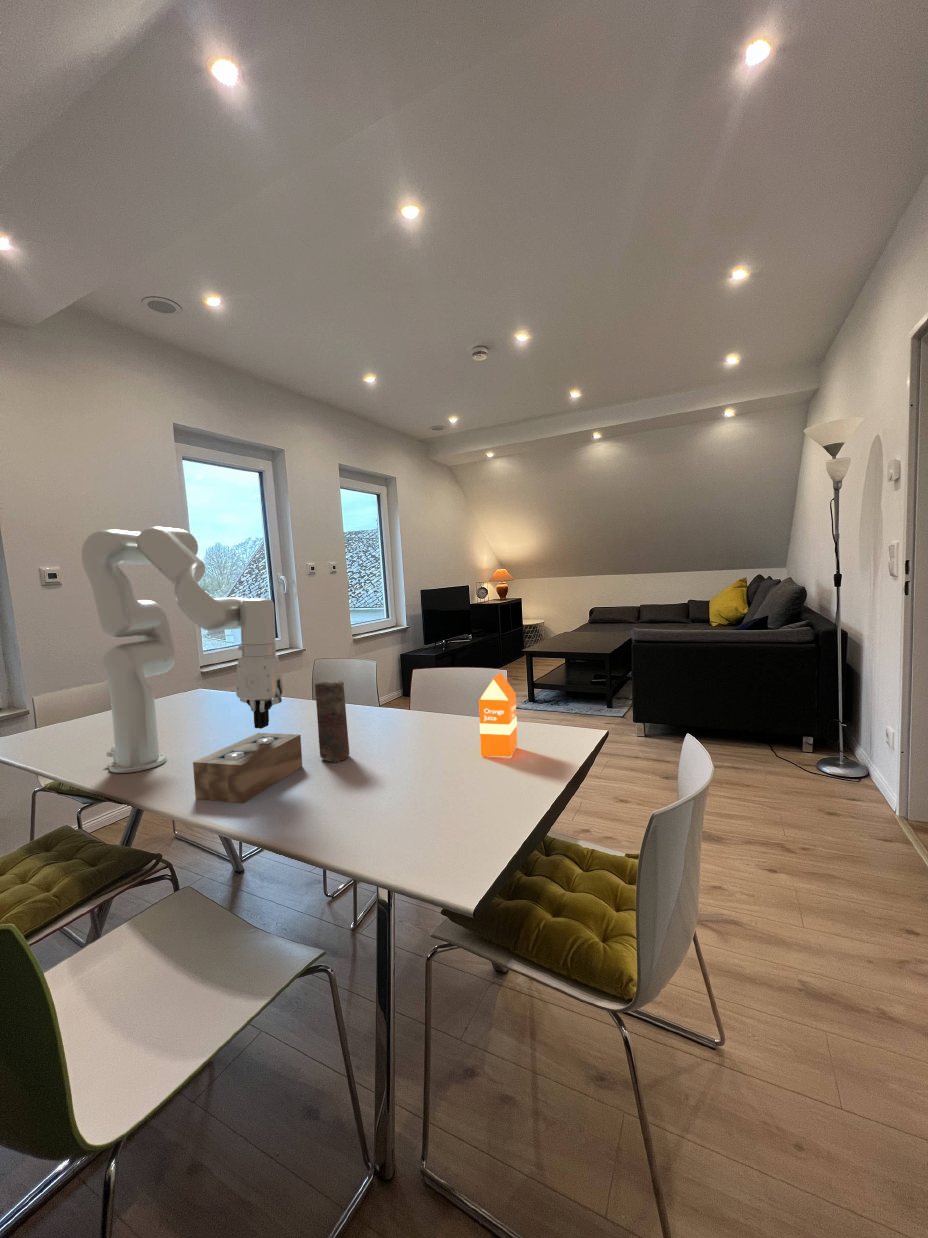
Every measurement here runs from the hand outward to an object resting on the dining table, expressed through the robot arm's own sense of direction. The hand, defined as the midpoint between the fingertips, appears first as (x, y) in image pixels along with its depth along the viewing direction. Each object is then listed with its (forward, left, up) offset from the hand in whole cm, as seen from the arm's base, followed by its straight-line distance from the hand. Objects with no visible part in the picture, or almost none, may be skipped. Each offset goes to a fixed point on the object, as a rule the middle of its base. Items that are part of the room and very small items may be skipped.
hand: (261, 726), depth 128 cm
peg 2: (+1, 0, -11) cm, 11 cm away
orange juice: (+53, +24, -12) cm, 59 cm away
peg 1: (+1, -11, -11) cm, 16 cm away
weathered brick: (+12, +13, -12) cm, 21 cm away
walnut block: (+1, -5, -11) cm, 13 cm away
